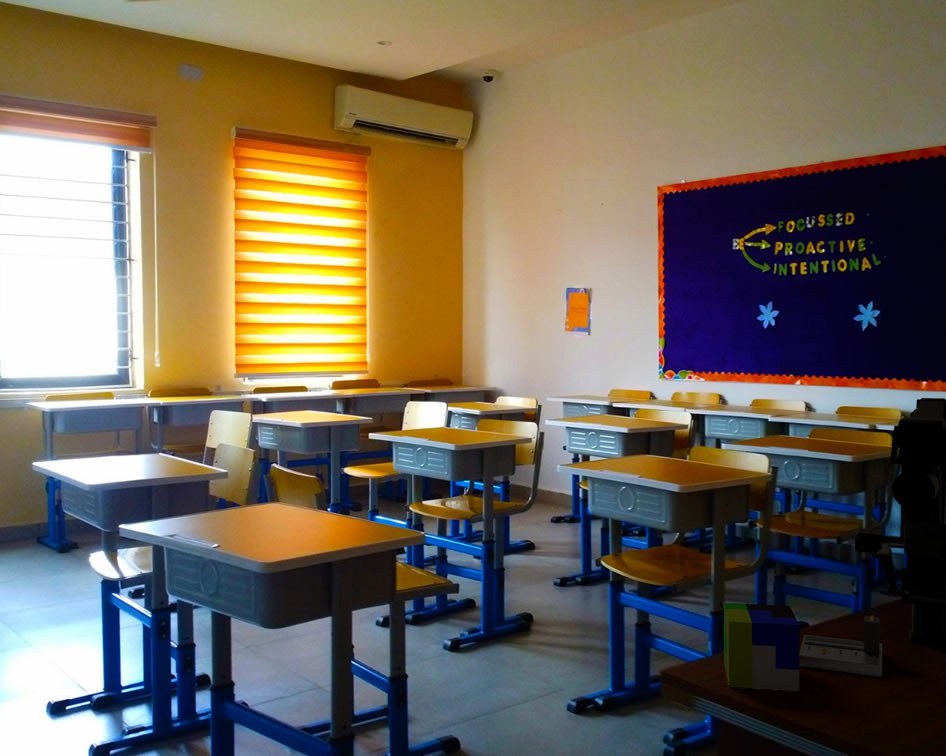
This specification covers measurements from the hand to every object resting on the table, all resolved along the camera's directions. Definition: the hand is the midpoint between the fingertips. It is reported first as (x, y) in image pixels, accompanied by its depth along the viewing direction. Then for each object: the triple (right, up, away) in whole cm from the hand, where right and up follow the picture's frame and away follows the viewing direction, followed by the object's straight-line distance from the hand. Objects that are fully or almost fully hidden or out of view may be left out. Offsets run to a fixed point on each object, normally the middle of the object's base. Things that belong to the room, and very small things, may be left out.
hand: (920, 598), depth 141 cm
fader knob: (-6, -9, +3) cm, 11 cm away
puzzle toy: (-26, -12, -2) cm, 28 cm away
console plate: (-11, -11, +4) cm, 16 cm away
